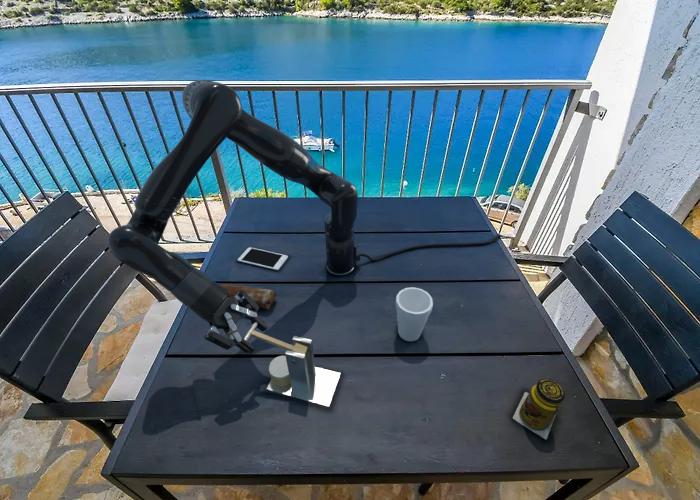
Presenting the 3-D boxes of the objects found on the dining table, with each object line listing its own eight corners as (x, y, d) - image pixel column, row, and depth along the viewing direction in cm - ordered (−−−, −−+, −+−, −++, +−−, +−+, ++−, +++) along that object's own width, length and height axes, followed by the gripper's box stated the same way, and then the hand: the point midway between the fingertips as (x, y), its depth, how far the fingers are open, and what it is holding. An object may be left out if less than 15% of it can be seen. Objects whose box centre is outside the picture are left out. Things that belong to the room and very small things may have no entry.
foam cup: (428, 324, 100) (435, 292, 92) (423, 349, 93) (430, 317, 85) (396, 315, 103) (400, 284, 95) (388, 340, 96) (392, 308, 88)
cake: (290, 361, 90) (288, 351, 87) (299, 379, 86) (297, 370, 83) (267, 371, 87) (265, 361, 85) (276, 390, 83) (273, 381, 81)
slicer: (266, 391, 84) (256, 355, 75) (282, 360, 91) (274, 323, 82) (329, 409, 81) (326, 373, 72) (340, 375, 88) (339, 338, 78)
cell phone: (278, 271, 118) (277, 269, 118) (237, 261, 122) (236, 259, 122) (288, 257, 124) (288, 255, 123) (249, 248, 128) (248, 246, 128)
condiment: (512, 418, 79) (528, 390, 71) (525, 391, 84) (541, 363, 76) (545, 440, 75) (567, 413, 68) (557, 410, 80) (578, 382, 73)
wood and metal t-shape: (241, 344, 77) (241, 338, 76) (253, 325, 82) (253, 319, 80) (299, 367, 76) (301, 361, 75) (309, 346, 81) (310, 341, 79)
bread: (270, 314, 103) (267, 301, 100) (215, 299, 108) (210, 287, 104) (279, 299, 108) (277, 286, 105) (226, 286, 113) (222, 273, 109)
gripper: (185, 311, 67) (252, 362, 72) (226, 264, 78) (281, 311, 83) (171, 323, 72) (235, 370, 76) (211, 277, 82) (265, 321, 87)
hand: (259, 339), depth 80 cm, fingers closed on wood and metal t-shape, 5 cm apart
